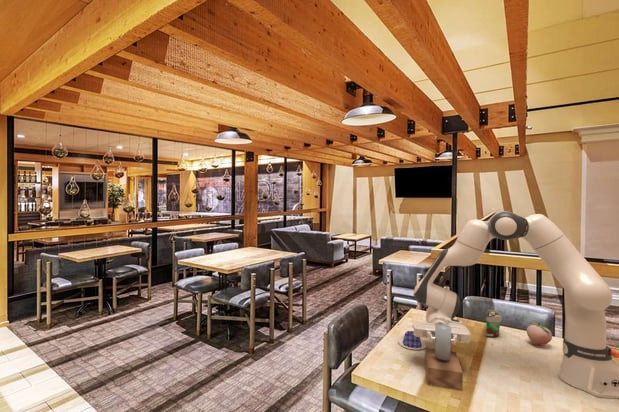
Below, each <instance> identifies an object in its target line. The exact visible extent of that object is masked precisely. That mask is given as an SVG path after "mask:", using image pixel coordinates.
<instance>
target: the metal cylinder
mask: <svg viewBox="0 0 619 412" xmlns="http://www.w3.org/2000/svg"><path fill="white" fill-rule="evenodd" d="M451 347H452V344H451V327H450V326H448V325H446V324H436V325H435V342H434V349H435V357H437V358H438V359H441V360H449V359H450V358H451V351H452V349H451Z"/></svg>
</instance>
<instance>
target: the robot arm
mask: <svg viewBox="0 0 619 412" xmlns="http://www.w3.org/2000/svg"><path fill="white" fill-rule="evenodd" d="M519 238H522V239H523V240H525V241H526V242H527V244H529V245H530V247H531V248H532V250H533V251H534V252H535V253H536V254H537V257H539V258H540V260H541V261H542V262H543V263H544V264H545V266H546V267H547V268H548V270H549V271H550V272H551V274H552V275H553V277H554V278H555V279H556V280H557V281H558V283H559V285H561V287H562V288H563V290H564V291H563V293H564V295H563V296H564V314H565V317H564V318H565V322H564V337H562V338H563V339H562V354H563V355H562V360H561V365H560V368H559V370H558V372H557V375H558V377H559V378H560V379H561V380H562V381H563V382H565V383H566V384H569V385H570V386H572V387H574V388H576V389H579V390H581V391H584V392H587V393H588V394H590V395H592V396H594V397H598V398H605V399H619V362H618V361H616V359H619V352H618V351H616V350H614V349H612V348H611V347H609V346H608V345H607V327H608V325H607V319H606V312H605V309H607V308H608V307H609V306H611V304H612V301H613V292H612V289H611V288H610V286H609V285H608V283H606V281H605V280H604V279H603V278H602V277H601V275H600V274H599V273H598V272H597V271H596V270H595V269H594V268H593V266H592V265H591V264H590V263H589V261H587V259H586V258H585V256H583V255H582V254H581V253H580V251H579V250H578V249H577V248H576V247H575V246H574V244H573V243H572V241H571V240H570V239H568V237H567V236H566V235H565V233H564V232H563V231H562V230H561V228H559V227H558V226H557V225H556V224H555V223H554V222H553V221H552V220H551V219H550V218H548V217H547V216H546V215H545V214H541V213H537V214H536V213H534V214H531V215H528V216H526V217H523V216H520V215H518V214H516V213H513V212H511V211H498V212H496V213H494V214H493V215H492V216H491V217H490V218H489V219H487V220H481V219H476V218H474V219H470V220H468V221H467V222H466V223H465V225H464V226H463V227H462V228H461V230H460V232H459V234H458V235H457V238H456V240H455V241H454V243H453V244H452V246H451V247H448V248H444V249H443V250H442V251H441V252H440V253H439V254H438V255H437V257H436V258H435V260H434V261H433V262H432V263H431V264H430V266H429V268H428V270H427V271H426V272H425V274H424V275H423V277H422V278H421V279H420V280H419V282H417V284H416V285H415V287H414V289H413V292H412V293H413V297H414V299H415V301H416V302H417V303H419V304H421V305H425V306H427V307H428V308H427V309H426V313H425V320H426V321H424V322H423V321H415V322H414V323H412V325H411V326H412V328H413V331H414V336H416V337H420V338H423V339H424V338H425V339H428V340H430V342H431V343H435V325H436V324H446V325H448V326H450V327H451V345H454V346H455V345H456V343H463V344H470V343H471V340H472V339H471V331H469V328H467V327H466V325H464V323H463V321H462V320H458V319H455V318H456V317H457V315H458V313H459V311H460V308H461V301H460V297H459V295H458V294H457V293H456V292H454V291H452V290H449V289H447V288H444V287H442V286H441V285H437V284H435V283H434V281H435V279H436V278H437V277H438V275H439V274H440V273H441V271H442V270H443V269H444V268H446V267H450V266H451V267H452V266H455V267H469V266H473V265H475V264H477V263H479V262H480V260H481V259H482V257H483V255H484V252H485V250H486V249H487V246H488V244H489V242H491V240H493V239H499V240H503V241H511V240H515V239H519Z"/></svg>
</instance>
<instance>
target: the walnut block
mask: <svg viewBox="0 0 619 412" xmlns="http://www.w3.org/2000/svg"><path fill="white" fill-rule="evenodd" d="M424 350H425V351H424V352H425V353H424V354H425V355H424V365H425V372H426V373H425V374H426V380H427V385H430V386H435V387H442V388H447V389H448V388H449V389H452V388H453V390H460V391H463V385H464V384H463V381H464V379H463V377H464V374H463V373H464V372H463V369H462V366H461V364H460V360H459V359H458V358H459V357H458V355H457V352H456V351H452V350H451V358H450V359H449V360H441V359H438V358H437V357H435V348H430V347H425V348H424Z"/></svg>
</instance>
